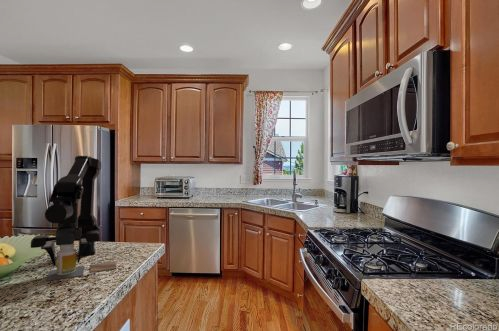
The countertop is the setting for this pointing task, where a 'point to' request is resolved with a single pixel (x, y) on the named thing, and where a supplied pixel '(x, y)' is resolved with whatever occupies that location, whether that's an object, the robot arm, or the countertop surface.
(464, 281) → the countertop surface
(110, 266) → the walnut coaster
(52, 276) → the mat
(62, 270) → the supplement bottle
